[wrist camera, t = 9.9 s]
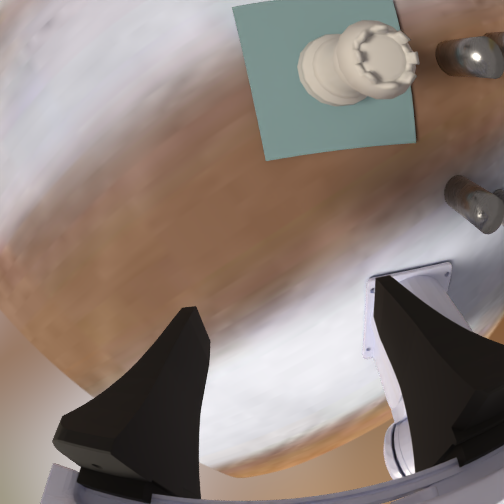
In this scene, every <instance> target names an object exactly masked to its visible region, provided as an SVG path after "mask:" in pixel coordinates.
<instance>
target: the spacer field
mask: <svg viewBox="0 0 504 504" xmlns="http://www.w3.org/2000/svg"><path fill="white" fill-rule="evenodd" d="M436 60H437V62H438V65H439V66H440V68H441V69H442V70H443V71H444V72H445V73H446V74H448V75H450V76H466V77H482V78H494V79H496V78H499V77H500V76H501V75H502V74H503V72H504V32H494V33H486V34H485V35H484V36H482V37H472V38H464V39H456V40H450V41H443V42H441V43H439V44H438V46H437V48H436ZM444 196H445V200H446V203H447V204H448V205H449V206H450V207H451V208H453V209H454V210H455V211H457V212H458V213H459V214H461V215H462V216H463V217H464V218H466V219H467V220H468V221H469V222H471V223H472V224H473V225H474V226H475V227H477V228H478V229H479V230H480V231H481V232H483V233H484V234H491V233H493V232H495V231H496V230H497V229H498V228H499V226H500V225H501V224H502V225H503V226H504V190H501V189H498V190H496V191H495V192H494V193H493V194H492V193H491V192H489V191H487V190H486V189H484V188H482V187H481V186H479V185H477V184H476V183H474V182H472V181H470V180H469V179H467V178H465V177H463V176H460V175H457V176H454V177H453V178H451V179H450V180H449V182H448V183H447V185H446V187H445V192H444Z"/></svg>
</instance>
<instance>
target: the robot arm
mask: <svg viewBox="0 0 504 504" xmlns="http://www.w3.org/2000/svg"><path fill="white" fill-rule="evenodd" d="M446 272H447V273H446ZM451 272H452V265H451V264H450V263H449V262H445V263H441V264H436V265H432V266H427V267H422V268H418V269H413V270H408V271H403V272H399V273H394V274H389V275H384V276H379V277H373V278H370V279H369V280H368V281H367V283H366V304H365V324H364V339H363V352H362V355H363V358H364V359H370V358H374V361H375V364H376V367H377V370H378V373H379V376H380V379H381V383H382V386H383V389H384V392H385V395H386V399H387V402H388V404H389V406H390V408H391V409H392V410H391V411H392V415H393V418H394V423H393V424H391V425H390V426H389V428H388V429H387V432H386V434H385V440H384V459H385V463H386V466H387V469H388V471H389V473H390V475H391V477H392V479H393V480H391V481H388V482H384V483H380V484H376V485H372V486H368V487H363V488H359V489H355V490H349V491H344V492H339V493H333V494H327V495H320V496H312V497H305V498H296V499H282V500H266V501H219V500H202V499H201V494H200V481H199V426H200V413H201V406H202V400H203V395H204V389H205V384H206V379H207V373H208V368H209V360H210V339H209V337H208V334H207V332H206V330H205V327H204V325H203V322H202V320H201V317H200V315H199V312H198V310H197V307H196V306H194V307H185V308H182V309H181V310H180V311H179V312H178V314H177V315H176V316H175V317H174V319H173V320H172V321H171V322H170V324H169V325H168V326H167V328H166V329H165V330H164V331H163V333H162V334H161V335H160V336H159V338H158V339H157V340H156V341H155V343H154V344H153V345H152V346H151V347H150V348H149V349H148V351H147V352H146V353H145V354H144V355H143V356H142V357H141V359H140V360H139V361H138V362H137V363H136V364H135V365H134V366H133V367H132V368H131V369H130V370H129V371H128V372H127V373H125V374H124V375H123V376H122V377H121V378H120V379H119V380H117V381H116V382H115V383H114V384H112V385H111V386H110V387H109V388H108V389H106V390H105V391H104V392H102V393H101V394H99V395H98V396H97V397H95V398H94V399H92V400H90V401H89V402H87V403H86V404H84V405H82V406H81V407H79V408H77V409H75V410H74V411H71V412H70V413H68V414H66V415H64V416H62V418H61V421H60V423H59V426H58V428H57V430H56V433H55V435H54V438H53V441H52V442H53V444H54V446H55V447H56V449H57V450H58V451H60V452H61V453H62V454H63V455H65V456H67V457H68V458H69V459H70V460H72V461H73V462H75V463H76V464H77V465H79V466H81V469H80V472H77V471H75V470H73V469H70V468H67V467H64V466H61V465H59V464H55V463H54V464H53V465H52V468H51V471H50V474H49V477H48V480H47V483H46V486H45V490H44V493H43V496H42V499H41V503H40V504H381V503H385V502H389V501H392V500H396V499H399V498H401V499H399V500H396V501H394V502H391V504H504V345H503V344H500V343H497V342H494V341H492V340H489V339H487V338H484V337H482V336H480V335H478V334H476V333H474V332H473V331H472V329H471V328H470V326H469V325H468V323H467V322H466V320H465V319H464V317H463V316H462V314H461V313H460V311H459V310H458V309H457V307H456V306H455V304H454V303H453V301H452V300H451V299H450V297H449V296H448V294H447V292H448V287H449V282H450V277H451ZM445 273H446V274H445ZM372 288H374V289H373V290H371V289H372ZM402 497H404V498H402Z"/></svg>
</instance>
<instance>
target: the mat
mask: <svg viewBox="0 0 504 504" xmlns="http://www.w3.org/2000/svg"><path fill="white" fill-rule="evenodd" d="M232 9H233V13H234V18H235V22H236V26H237V30H238V34H239V38H240V43H241V47H242V51H243V56H244V60H245V64H246V69H247V73H248V78H249V82H250V87H251V91H252V96H253V101H254V105H255V110H256V115H257V119H258V124H259V129H260V134H261V139H262V144H263V149H264V154H265V159H266V161H269V160H275V159H281V158H287V157H293V156H299V155H306V154H313V153H320V152H327V151H335V150H343V149H352V148H361V147H370V146H381V145H393V144H406V143H416V134H415V121H414V111H413V101H412V93H411V86H409V88H408V89H407V90H406V92H405V93H403V94H401V95H399V96H397V97H395V98H393V99H378V100H377V99H375V98H372V97H369V96H367V97H366V98H365V99H363V100H361V101H359V102H358V103H356V104H354V105H347V106H336V107H335V106H331V105H328V104H324V103H321V102H319V101H318V100H317V99H315V98H314V97H313V96H311V95H310V94H308V92H307V91H306V89H305V88H304V86H303V85H302V83H301V82H300V78H299V73H298V68H297V66H298V61H299V57H300V53H301V52H302V50H303V49H304V48H305V47H306V45H307V44H308V43H309V42H311V41H313V40H315V39H317V38H319V37H321V36H323V35H327V34H342V33H343V32H344V31H345V30H346V28H347V27H348V26H349V25H352V24H354V23H357V22H359V21H361V20H374V21H380V22H382V23H385V24H387V25H389V26H392V27H393V28H395V29H396V30H397V31H399V30H400V27H399V23H398V19H397V15H396V11H395V7H394V4H393V0H274V1H266V2H259V3H253V4H247V5H241V6H236V7H232Z"/></svg>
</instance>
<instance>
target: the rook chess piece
mask: <svg viewBox="0 0 504 504" xmlns="http://www.w3.org/2000/svg"><path fill="white" fill-rule="evenodd" d="M409 40H411V39H410V38H409V37H407V36H406V35H405V34H404V33H403V32H402V31H401V30H399V31H397V30H396V29H395V28H393V27H392V26H389V25H387V24H385V23H382V22H380V21H374V20H361V21H359V22H357V23H354V24H352V25H349V26H348V27H347V28H346V30H345V31H344V32H343V33H342V34H327V35H323V36H321V37H319V38H317V39H315V40H313V41H311V42H309V43H308V44H307V45H306V47H305V48H304V49H303V50H302V52H301V53H300V57H299V61H298V66H297V68H298V73H299V78H300V82H301V83H302V85H303V86H304V88H305V89H306V91H307V92H308V94H310V95H311V96H313V97H314V98H315V99H317V100H318V101H319V102H321V103H324V104H328V105H331V106H335V107H336V106H347V105H354V104H356V103H358V102H359V101H361V100H363V99H365V98H366V97H367V96H369V97H372V98H375V99H377V100H378V99H393V98H395V97H397V96H399V95H401V94H403V93H405V92H406V90H407V89H408V88H409V86H410V85H411V84H412V82H413V81H414V80H415V78H416V77H417V75H415V70H416V65H417V64H420V63H419V57H418V52H413V51H412V49H411V47H410V45H409V44H408V41H409Z"/></svg>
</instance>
